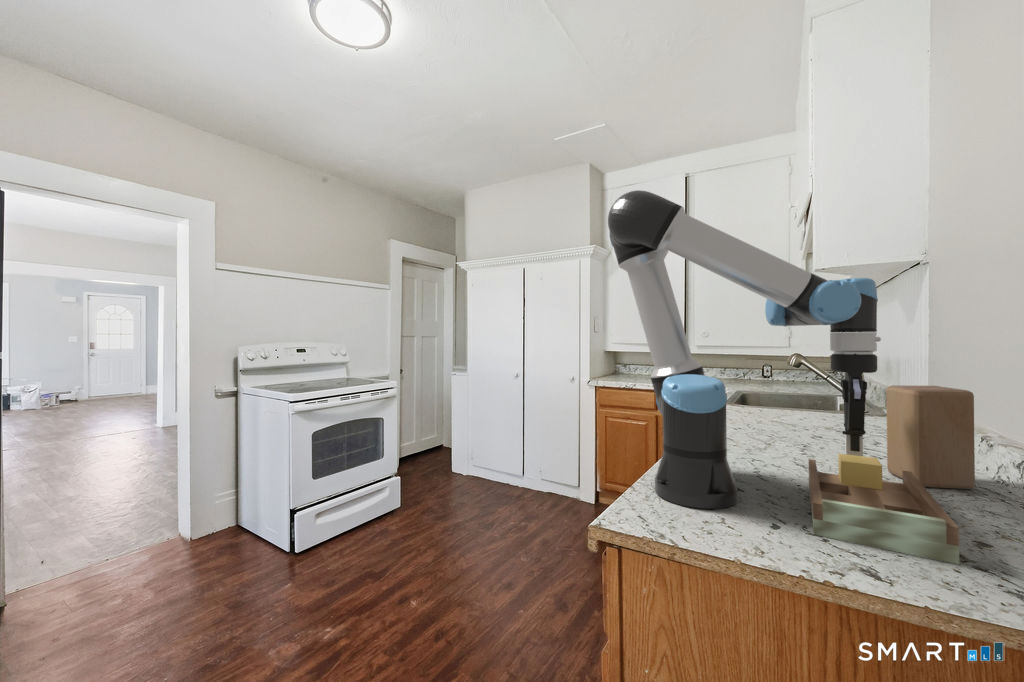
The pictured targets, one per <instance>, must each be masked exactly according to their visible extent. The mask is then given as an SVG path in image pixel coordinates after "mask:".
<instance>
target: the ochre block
mask: <svg viewBox="0 0 1024 682" xmlns="http://www.w3.org/2000/svg"><path fill="white" fill-rule="evenodd" d="M837 458H838V459H837V460H838V463H837V465H838V466H837V467H838V475H839V478H840V482H841V484H844V485H851V486H858V487H864V488H871V489H878V490H882V481H883V465H882V463H881V462H880V460H879V459H878V458H877V457H873V456H872V457H870V456H864V455H863V456H854V455H846V454H844V453H838V455H837Z"/></svg>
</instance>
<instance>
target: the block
mask: <svg viewBox="0 0 1024 682" xmlns="http://www.w3.org/2000/svg"><path fill="white" fill-rule="evenodd" d="M885 391H886V392H885V394H886V395H885V396H886V453H887V454H886V455H887V456H886V457H887V458H886V459H887V460H886V462H887V463H886V465H887V466H886V467H887V472H888V473H889V474H891V475H894V476H896V477H898V478H899V479H902V480H903V471H909V472H912V473H913V475H914V476H915V477H916V478H917V479H918V480H919V482H920V483H921V484H922V485H923V486H924V488H934V489H935V488H936V489H954V490H957V489H958V490H960V489H961V490H971V489H972V490H973V489H974V488H975V487H976V486H975V485H976V479H975V478H976V477H975V476H976V475H975V473H976V471H975V466H976V465H975V463H976V462H975V395H974V393H973V392H972V391H970V390H968V389H962V388H960V389H959V388H953V387H947V386H938V385H905V384H904V385H900V384H899V385H897V384H895V385H894V384H893V385H889V386H887V387H886V390H885Z"/></svg>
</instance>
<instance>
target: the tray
mask: <svg viewBox="0 0 1024 682" xmlns="http://www.w3.org/2000/svg"><path fill="white" fill-rule="evenodd" d="M808 488H809V489H808V490H809V499H810V507H811V508H810V509H811V510H810V512H811V518H812V519H811V520H812V530H813V531H812V533H813V536H814V535H815V536H819V537H824V538H830V539H833V540H838V541H844V542H848V543H852V544H859V545H863V546H868V547H872V548H877V549H882V550H887V551H891V552H892V551H893V552H896V553H900V552H901V553H902V554H906V555H911V556H915V555H916V557H920V556H922V557H921V558H925V557H927V558H926V559H929V558H930V559H931V560H935V561H940V562H945V563H949V564H954V565H960V528H959V526H958V525H957V524H956V523H955V521H953V519H952V518H951V516H949V515H948V513H947V512H946V511H945V509H943V507H942V506H941V505H940V504H939V503H938V501H937V500H936V499H935V498H934V497H933V495H932V494H930V492H929V491H928V490H927V489H926V487H924V486H923V485H922V484H921V483H920V482H919V480H918V479H917V478H916V477H915V476H914V475H913V473H912V472H909V471H903V479H902V482H894V481H888V480H887V481H886V480H882V490H878V489H871V488H864V487H858V486H851V485H844V484H841V482H840V478H839V474H837V473H836V474H835V473H834V474H833V473H827V472H820V471H818V468H817V461H816V459H810V458H809V459H808ZM930 559H929V560H930Z"/></svg>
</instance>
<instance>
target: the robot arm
mask: <svg viewBox="0 0 1024 682" xmlns="http://www.w3.org/2000/svg"><path fill="white" fill-rule="evenodd" d="M607 225H608V230H609V232H608V233H609V241H610V243H611V246H612V247H613V250H614V253H615V257H616V261H617V265H618V268H620V269H621V270H623V271H626V272H627V276H628V279H629V283H630V286H631V289H632V293H633V296H634V300H635V305H636V307H637V310H638V314H639V317H640V318H639V319H640V321H641V325H642V328H643V332H644V334H645V335H644V336H645V338H646V342H647V345H648V348H649V353H650V355H651V359H652V363H653V367H654V368H653V370H652V372H651V374H650V380H651V384H652V387H653V390H654V395H655V398H656V400H655V401H656V406H657V409H658V411H659V413H660V414H661V415H662V444H663V445H662V449H663V450H662V451H663V452H662V456H661V460H660V461H659V462H660V463H659V464H658V467H657V468H658V469H657V471H656V474H655V477H654V492H655V493H656V494H657V495H658V497H660V498H662V499H664V500H666V501H668V502H670V503H673V504H677V505H680V506H684V507H689V508H695V509H706V510H707V509H708V510H709V509H713V510H714V509H715V510H717V509H725V508H730V507H732V506H734V505H736V504H737V503H738V501H739V500H738V499H739V498H738V495H739V494H738V487H737V484H736V480H735V478H734V475H733V472H732V470H731V467H730V465H729V462H728V461H729V460H728V458H727V457H728V453H727V446H728V445H727V402H728V394H727V390H726V385H725V383H724V382H723V381H722V380H721V379H719V378H717V377H714V376H708V375H706V374H705V371H704V368H703V365H702V363H700V362H698V361H697V360H695V359H694V358H693V355H692V352H691V348H690V345H689V341H688V339H687V335H686V331H685V328H684V325H683V321H682V317H681V314H680V311H679V308H678V303H677V301H676V297H675V294H674V291H673V287H672V283H671V281H670V277H669V272H668V270H667V267H666V263H665V259H666V257H667V255H668V253H669V252H670V253H673V254H674V255H677V256H679V257H681V258H683V259H685V260H687V261H689V262H691V263H692V264H693V263H694V264H695V265H697V266H699V267H701V268H704V269H705V270H707V271H710V272H712V273H713V274H716V275H718V276H720V277H722V278H724V279H726V280H728V281H730V282H732V283H734V284H736V285H739V286H741V287H742V288H744V289H746V290H748V291H751V292H753V293H755V294H756V295H759V296H761V297H763V298H766V301H765V307H764V309H765V310H764V312H765V313H764V314H765V318H766V321H767V322H768V324H769V325H770V326H774V327H775V326H777V327H785V328H786V327H788V326H789V327H792V326H793V327H794V326H795V327H796V326H799V327H800V326H805V327H806V326H830V329H829V332H830V333H829V337H830V338H829V339H830V340H829V342H830V343H829V344H830V346H829V347H830V348H829V350H830V351H831V352H833V353H832V354H831V355H830V369H831V371H832V372H837V373H844V379H840V387H841V390H842V391H841V394H842V396H841V398H842V400H843V419H844V423H843V427H844V430H842V435H844V436H845V437H844V440H845V441H844V442H845V443H844V445H845V446H844V448H845V449H844V450H845V451H844V453H845V454H846V455H854V456H863V457H864V438H863V437H864V435H866V431H865V417H866V415H865V414H866V412H865V411H866V409H865V408H866V398H867V397H866V395H867V394H868V393H867V390H868V382H867V381H866V380H864V378H863V373H864V374H872V373H876V372H877V371H878V355H876V354H874V353H875V352H877V351H878V342H881V341H882V338H881V337H880V336H877V332H878V330H877V329H878V328H877V327H878V323H877V322H878V321H877V320H878V319H877V318H878V314H877V312H878V302H879V299H878V292H877V291H878V290H877V284H876V281H875V280H874V279H872V278H868V277H855V278H854V277H853V278H843V279H830V280H827V279H826V278H823V277H821V276H819V275H816V274H814V273H812V272H809V271H808V270H805V269H803V268H802V267H801V268H800V267H799V266H796V265H795V264H792V263H790V262H788V261H786V260H783V259H782V258H780V257H778V256H776V255H774V254H771V253H769V252H767V251H765V250H763V249H760V248H758V247H756V246H754V245H752V244H750V243H747V242H745V241H743V240H741V239H740V238H737V237H735V236H734V235H733V236H732V235H731V234H729V233H726V232H725V231H722V230H720V229H717V228H715V227H714V226H711V225H709V224H707V223H705V222H703V221H701V220H698V219H696V218H694V217H692V216H690V215H688V214H687V213H686V211H685V208H684V206H682V205H680V204H678V203H676V202H674V201H671V200H669V199H667V198H665V197H663V196H661V195H659V194H655V193H653V192H650V191H647V190H639V189H638V190H631V191H629V192H626V193H623V194H622V195H621V196H619V197H618V198H617V199H616V200H614V202H613V204H612V206H611V207H610V209H609V211H608V215H607Z"/></svg>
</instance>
